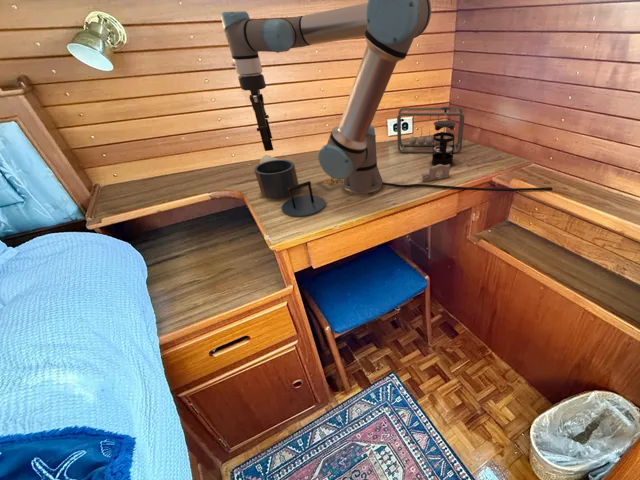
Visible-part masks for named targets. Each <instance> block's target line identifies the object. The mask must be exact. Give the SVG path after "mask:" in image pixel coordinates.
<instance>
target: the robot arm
mask: <svg viewBox="0 0 640 480" xmlns="http://www.w3.org/2000/svg"><path fill="white" fill-rule="evenodd" d="M431 16H432V5H431V0H368V1H367V2H365V3H364V2H363V3H360V4H354V5H349V6H345V7H339V8H334V9H329V10H324V11H320V12H319V11H318V12H315V13H310V14H305V15H300V16H293V17H286V18H269V19H266V18H265V19H251V18H250V16H249V13H248V12H247V11H246V10H243V11H242V10H241V11H237V10H236V11H223V12H221V14H220V18H221V22H222V27H223V32H224V35H225V38H226V41H227V44H228V48H229V51H230V54H231V58H232V61H233V62H232V63H231V66H232V67H235V71H236V74H237V75H238V76H237V79H238V83H239V87H240V89H241V90H243V91H246V92H247V91H249V92H250V94H249V98H248V99H249V101H250V103H251V106H252V110H253V112H254V115H255V119H256V123H257V128H256V131H257V132H259V134H260V138H261V142H262V145H263V149H264V151H265V152H269V151H274V145H273V143H272V142H273V141H272V139H273V135H272V131H271V128H270V123H269V120H268V119H270V116H269V114H267V112H266V109H265V102H264V96H263V93H261V90H264V89H266V88H267V84H266V80H265V76H264V75H263V68H262V62H261V59H260V56H259V52H262V53H265V52H266V53H277V54H279V53H287V52H289V51H290V50H291V49H297V48H304V47H309V46H315V45H320V44H327V43H333V42H340V41H346V40H352V39H354V40H355V39H360V38H364V39H365V42H366V48H365V50H364V53H363V56H362V59H361V62H360V65H359V68H358V70H357V73H356V75H355V79H354V81H353V84H352V88H351V90H350V93H349V96H348V98H347V102H346V104H345V108H344V111H343V113H342V115H341V119H340V121H339V125H335V126H334V127H332V129H331V132H330V135H329V138H328V139H327V143H326V144H325V145H323V146H322V147H321V148H320V150H319V152H318V162H319V165H320V166H321V169H322V170H323V171H324V173H325V174H326V175H328V176H329V177H330V178H331V177H332V178H334V179H337V181H338V180H340V181H341V180H343V182H342V183H343V185H342V186H343V189H344V191H346V192H347V193H350V194H353V195H354V194H355V195H373V194H376V193H378V192H380V191H382V189H383V187H384V186H388V187H394V188H414V187H419V188H421V187H423V188H436V189H437V188H438V189H447V190H448V189H450V190H463V191H465V190H466V191H482V192H483V191H484V192H526V191H527V192H531V191H552V190H553V186H549V187H546V186H545V187H514V188H513V187H511V188H509V187H505V188H504V187H502V188H501V187H474V186H473V187H471V186H458V185H457V186H455V185H443V184H441V185H440V184H429V183H410V184H409V183H408V184H398V183H392V182H384V181H383V178H382V175H381V173H380V170H379V168H378V159H377V141H376V136H377V135H376V130H375V127H374V126H373V125H372V123H373V120H374V118H375V115H376V113H377V111H378V108H379V106H380V104H381V102H382V99H383V96H384V94H385V92H386V89H387V87H388V85H389V82H390V80H391V77H392V75H393V73H394V70H395V68H396V66H397V64H398V63H399V62H400V61H404V60H405V59H406V58H407V56H408V53H409V51H410V49H411V46H412V44H413V42H414V39H415V38H418V37H420V36H421V35H423V33H424V32H425V31H426V29H427V27H428V26H429V23H430V22H431Z"/></svg>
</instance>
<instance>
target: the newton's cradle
mask: <svg viewBox="0 0 640 480" xmlns="http://www.w3.org/2000/svg"><path fill="white" fill-rule="evenodd" d="M440 108H441V107H401V108H400V109H399V110H398V114H397V117H396V131H397V134H396V135H397V150H398V152H399V153H401V154H435V153H437V152H435V151H434V150H418V149H417V150H416V149H415V150H410V149H409V150H407V149H406V150H404V148H405V147H433V136H431V132H429V135H428V136H427V137H426V138H425V137H424V136H423V128H421V129H420V130H421V133H420V135H421V136H419V137H418V138H416V137H415V136H414V135H412V136H410V137H409V138H408V143H402V117H404V116H405V117H410V116H411V117H412V124H414V123H415V117H418V116H419V117H425V116H426V117H429V120H431V119H432V118H431V116H432V117H433V116H434V117H437V121H440V117H442V116H443V117H445V113H444V110H442V109H440ZM450 108H451V109H449V110H447V113H446V119H445V121H448V116H449V117H451V116H455V117H456V116H458V117H459V120H458V121H459V122H458V132H457V141H456V143H454V150H453V154H459V153H460V152H461V151H462V146H463V145H462V144H463V136H464V124H465V115H464V114H463V109H461V108H460V107H450ZM406 111H408V112H406ZM410 111H411V112H410ZM415 111H416V112H415ZM418 111H419V112H418ZM424 111H425V112H424ZM431 111H432V112H431ZM433 111H437V112H433ZM440 111H442V112H440ZM448 111H457V112H448ZM447 128H448V127H445V131H447ZM436 138H440V136H437V137H436ZM449 138H450V137H449V136H445V139H449ZM436 146H440V142H438V141H435V140H434V147H436ZM447 146H449V147H452V148H453V143H450V142H447ZM401 147H402V149H401ZM456 147H458V149H457V148H456ZM450 154H452V152H450Z"/></svg>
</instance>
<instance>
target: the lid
mask: <svg viewBox="0 0 640 480" xmlns="http://www.w3.org/2000/svg"><path fill="white" fill-rule="evenodd" d="M304 187H308V193H309V195H308V194H306V195H298V196H295V197H294V195H293V194H292V190H295V189H298V188H299V189H301V188H304ZM288 191H289V193H290V196H289V197H290V198H289V199H288V200H286V201H285V202H284V203H283V204H282V205H281V211H282V213H283V214H284V215H286V216H288V217H292V218H304V217H309V216H313V215H316V214H318V213H320V212H322V211H323V210H325V207H326V205H327V203H326V200H325V199H324V198H323V197H321V196H319V195H314V194H313V189H312V181H310V180H308V181H305V182H302V183H298V185H295V186H292V187H289V188H288Z"/></svg>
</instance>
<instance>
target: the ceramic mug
mask: <svg viewBox="0 0 640 480" xmlns="http://www.w3.org/2000/svg"><path fill="white" fill-rule="evenodd" d="M272 160H281V159H280V158H276V157H274V156H271V155H268V154H266V155H263V156H262V157H261V158H260V160H259V164H261V163H263V162H267V161H272ZM259 164H258V165H259Z"/></svg>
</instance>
